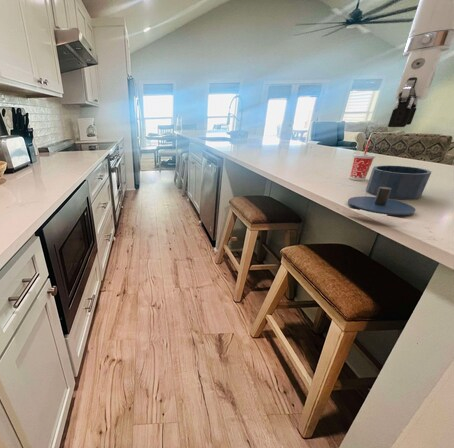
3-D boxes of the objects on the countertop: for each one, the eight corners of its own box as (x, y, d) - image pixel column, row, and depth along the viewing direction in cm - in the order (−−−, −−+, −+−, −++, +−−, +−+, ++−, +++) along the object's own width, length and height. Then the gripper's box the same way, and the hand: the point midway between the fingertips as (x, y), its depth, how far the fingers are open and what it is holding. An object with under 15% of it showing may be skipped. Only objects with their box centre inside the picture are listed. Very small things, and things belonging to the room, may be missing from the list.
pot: (423, 193, 75) (433, 168, 71) (417, 202, 67) (428, 176, 64) (371, 185, 83) (378, 164, 80) (361, 193, 76) (368, 170, 73)
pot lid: (417, 207, 64) (426, 187, 62) (409, 222, 56) (418, 199, 54) (354, 197, 74) (360, 179, 72) (340, 208, 66) (346, 188, 64)
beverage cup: (343, 177, 95) (353, 140, 89) (358, 176, 95) (369, 139, 89) (356, 181, 89) (368, 141, 83) (371, 180, 89) (385, 141, 84)
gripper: (450, 35, 47) (416, 128, 54) (453, 46, 57) (423, 123, 64) (398, 44, 53) (373, 128, 60) (409, 53, 63) (386, 124, 70)
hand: (399, 125), depth 62 cm, fingers open, 9 cm apart
